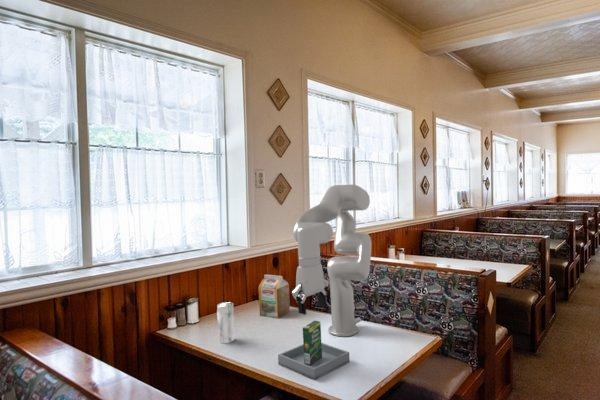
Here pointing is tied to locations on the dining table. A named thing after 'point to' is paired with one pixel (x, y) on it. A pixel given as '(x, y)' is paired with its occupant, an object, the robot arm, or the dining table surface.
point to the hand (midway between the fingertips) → (312, 309)
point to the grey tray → (321, 367)
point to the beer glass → (226, 321)
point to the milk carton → (274, 297)
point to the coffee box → (312, 342)
